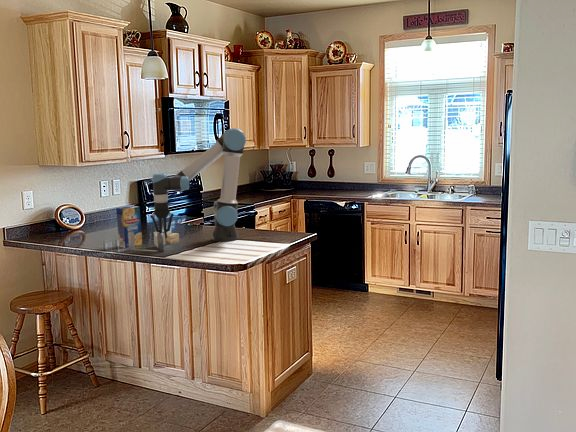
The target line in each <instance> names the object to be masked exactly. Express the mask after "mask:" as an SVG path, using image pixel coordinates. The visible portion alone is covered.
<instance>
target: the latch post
mask: <svg viewBox="0 0 576 432" xmlns="http://www.w3.org/2000/svg"><path fill="white" fill-rule="evenodd" d="M128 240H129V247H128V249H129V252H130V251H131V252H132V251H135V250H134V249H136V246H135V238H134V232H128Z"/></svg>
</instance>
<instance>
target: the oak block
mask: <svg viewBox="0 0 576 432" xmlns="http://www.w3.org/2000/svg"><path fill="white" fill-rule="evenodd" d="M178 242H179V243H180V233H179V232H177V233H176V232H167V238H165V245H172V244H176V243H178Z"/></svg>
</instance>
